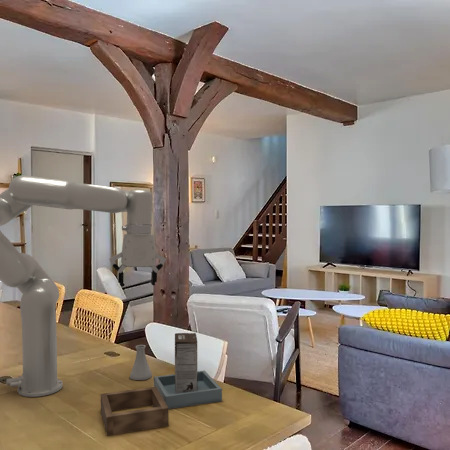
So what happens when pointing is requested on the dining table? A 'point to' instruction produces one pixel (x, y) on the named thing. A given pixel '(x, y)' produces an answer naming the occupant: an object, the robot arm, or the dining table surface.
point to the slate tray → (205, 392)
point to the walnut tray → (135, 418)
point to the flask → (140, 365)
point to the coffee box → (185, 362)
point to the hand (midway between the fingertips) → (137, 285)
